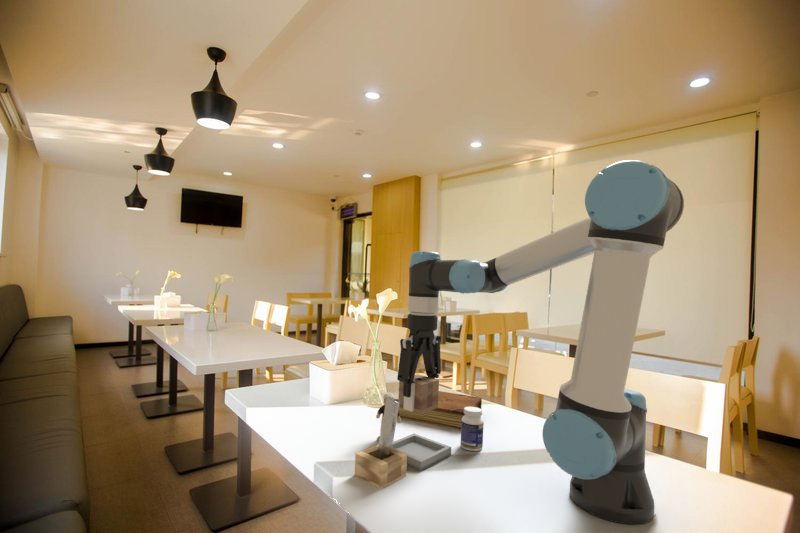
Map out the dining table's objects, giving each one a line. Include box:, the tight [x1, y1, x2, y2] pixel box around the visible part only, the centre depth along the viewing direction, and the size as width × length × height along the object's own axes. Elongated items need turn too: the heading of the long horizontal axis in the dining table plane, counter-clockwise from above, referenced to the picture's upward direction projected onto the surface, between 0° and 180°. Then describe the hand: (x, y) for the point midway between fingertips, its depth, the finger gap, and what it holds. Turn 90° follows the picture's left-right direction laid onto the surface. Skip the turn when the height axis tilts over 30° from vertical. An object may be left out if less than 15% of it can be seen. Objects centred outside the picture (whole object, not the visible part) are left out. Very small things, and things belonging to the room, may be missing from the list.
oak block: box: [354, 443, 408, 490], centre depth 90 cm, size 8×8×5 cm
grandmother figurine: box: [375, 392, 402, 442], centre depth 110 cm, size 8×4×13 cm, turn 70°
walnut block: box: [397, 373, 440, 414], centre depth 102 cm, size 7×7×7 cm
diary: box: [396, 390, 482, 431], centre depth 132 cm, size 23×19×6 cm
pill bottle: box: [460, 407, 485, 452], centre depth 108 cm, size 6×6×10 cm
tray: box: [392, 433, 452, 472], centre depth 101 cm, size 12×12×2 cm
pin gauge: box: [376, 398, 400, 460], centre depth 90 cm, size 3×3×16 cm
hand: (418, 406), depth 102 cm, fingers closed on walnut block, 7 cm apart
